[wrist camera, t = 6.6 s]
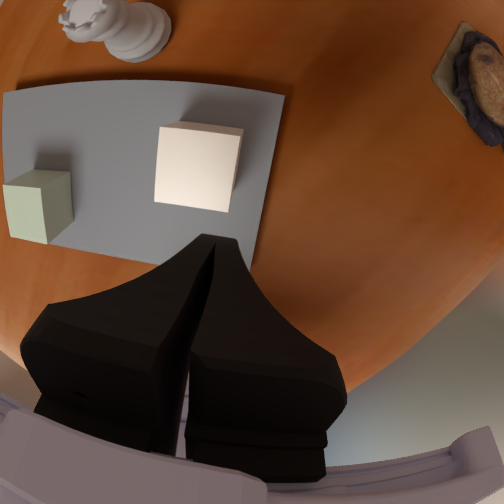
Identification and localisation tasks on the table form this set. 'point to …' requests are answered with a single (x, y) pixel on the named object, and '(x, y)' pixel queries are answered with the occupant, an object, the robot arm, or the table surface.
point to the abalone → (474, 82)
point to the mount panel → (138, 159)
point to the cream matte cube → (197, 165)
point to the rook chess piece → (118, 26)
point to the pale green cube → (39, 205)
